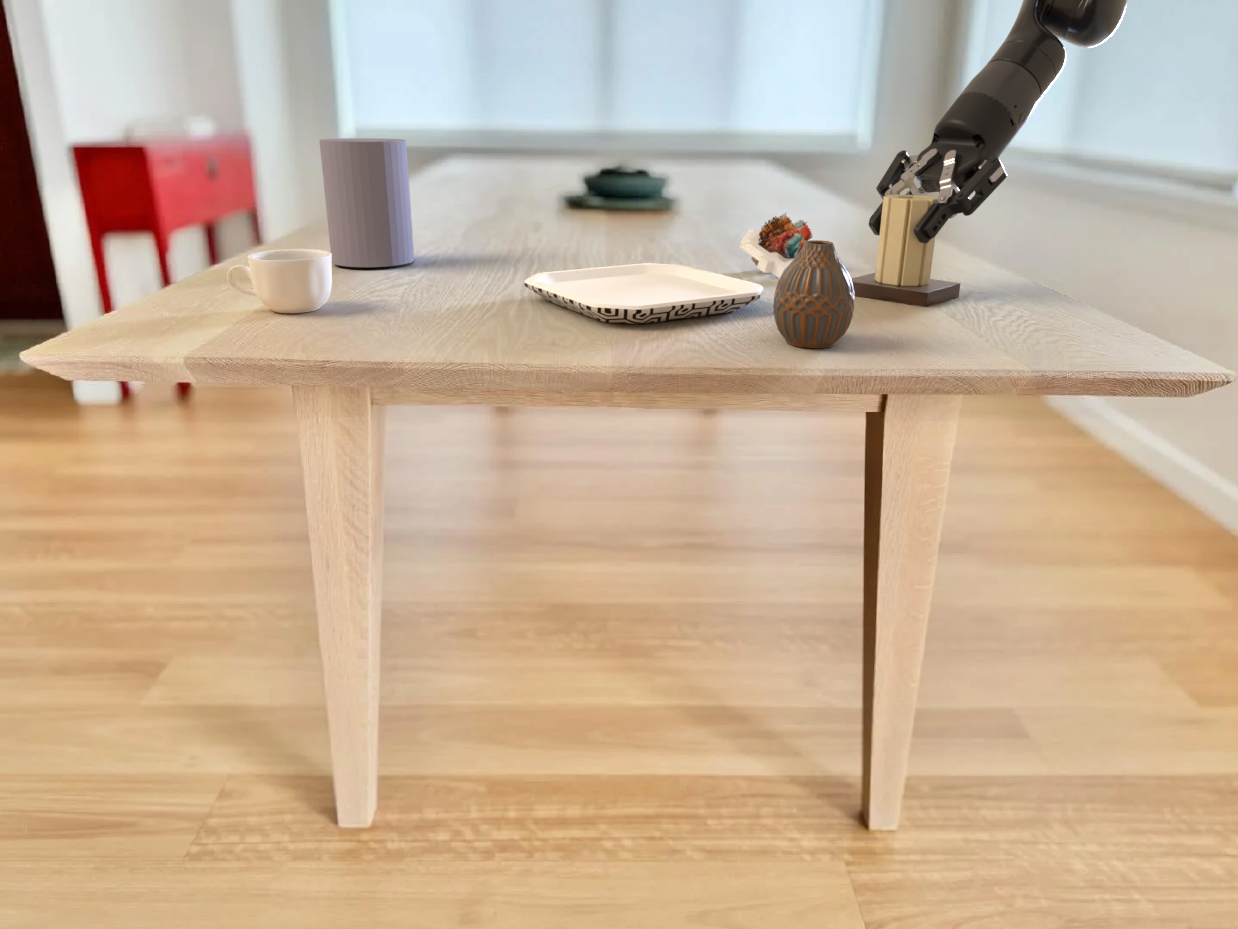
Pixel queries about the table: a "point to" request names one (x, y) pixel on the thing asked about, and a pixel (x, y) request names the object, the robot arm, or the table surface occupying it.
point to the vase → (814, 297)
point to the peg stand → (906, 291)
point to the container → (367, 202)
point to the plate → (644, 292)
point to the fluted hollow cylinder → (903, 242)
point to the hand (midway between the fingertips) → (896, 233)
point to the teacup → (288, 279)
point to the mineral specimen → (776, 244)
